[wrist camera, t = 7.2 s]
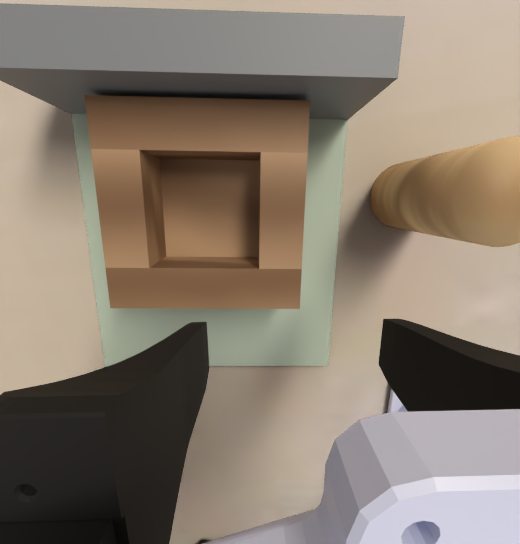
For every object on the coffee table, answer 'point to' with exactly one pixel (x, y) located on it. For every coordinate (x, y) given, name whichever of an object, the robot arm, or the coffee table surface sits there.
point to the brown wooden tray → (200, 200)
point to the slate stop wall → (198, 55)
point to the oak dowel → (455, 194)
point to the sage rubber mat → (238, 322)
